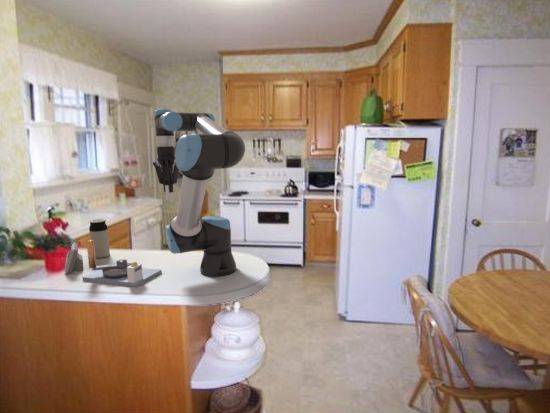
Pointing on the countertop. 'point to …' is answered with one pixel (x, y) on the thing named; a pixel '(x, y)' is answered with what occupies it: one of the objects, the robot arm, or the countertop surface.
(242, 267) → the countertop surface
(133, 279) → the stand
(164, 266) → the countertop surface
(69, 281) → the countertop surface
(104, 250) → the travel mug
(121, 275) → the crank
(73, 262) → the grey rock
